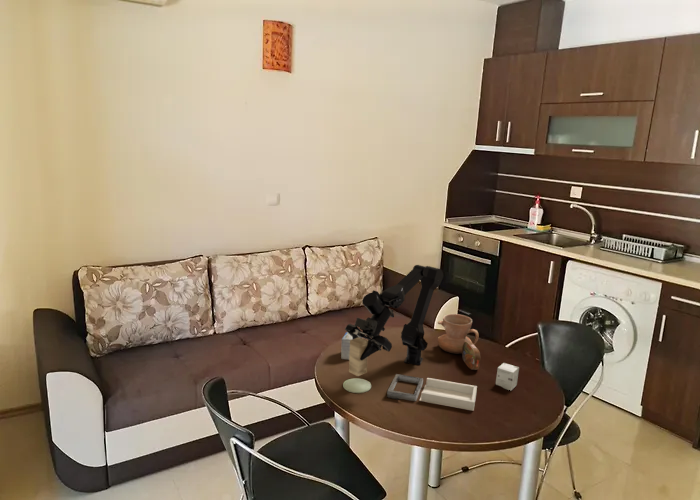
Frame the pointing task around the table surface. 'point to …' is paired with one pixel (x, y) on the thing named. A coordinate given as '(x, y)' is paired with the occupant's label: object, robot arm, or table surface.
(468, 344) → the tin
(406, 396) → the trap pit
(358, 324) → the robot arm
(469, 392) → the cream rectangular tray
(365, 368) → the maple block
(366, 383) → the pad
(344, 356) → the medicine box
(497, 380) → the skincare box
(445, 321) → the ceramic jug
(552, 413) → the table surface
